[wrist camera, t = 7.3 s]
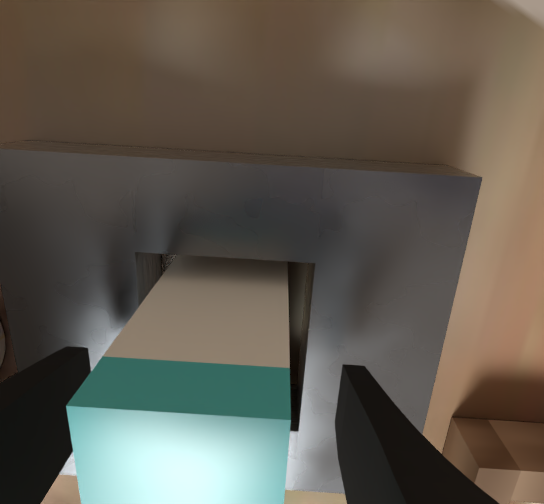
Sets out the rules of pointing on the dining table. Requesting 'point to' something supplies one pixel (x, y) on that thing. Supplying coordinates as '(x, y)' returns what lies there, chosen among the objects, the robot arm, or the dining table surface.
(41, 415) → the robot arm
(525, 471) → the frame
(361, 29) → the dining table surface
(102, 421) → the plug
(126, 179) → the port
